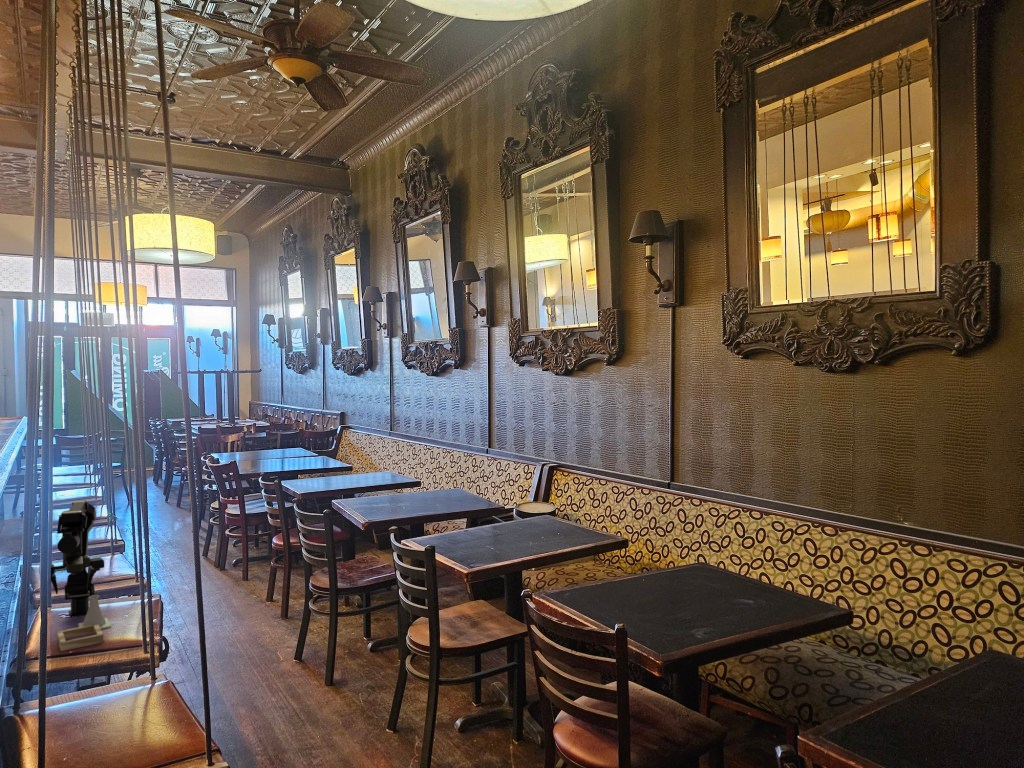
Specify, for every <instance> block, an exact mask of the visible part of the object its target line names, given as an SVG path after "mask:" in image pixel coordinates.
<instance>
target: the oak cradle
mask: <svg viewBox="0 0 1024 768" xmlns="http://www.w3.org/2000/svg"><path fill="white" fill-rule="evenodd" d="M91 634H93V635H91ZM85 635H89V636H85ZM79 636H80V637H79ZM81 636H84V637H81ZM75 637H79V638H75ZM71 638H74V639H71ZM67 639H68V640H67ZM56 640H57V644H58V647H59V650H60V652H63V651H64V652H65V651H68V650H74V649H78V648H83V647H87V646H92V645H96V644H101V643H104V641H105V639H104V633H103V631H102V629H100V626H99V624H93V625H88V626H83V627H78V626H77V627H73V628H69V629H65V630H64V629H63V630H59V631H56Z"/></svg>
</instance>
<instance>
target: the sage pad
mask: <svg viewBox="0 0 1024 768" xmlns="http://www.w3.org/2000/svg"><path fill="white" fill-rule="evenodd" d="M104 618H105V622H106V623H104V624H103V625H101V626H100V629H101V630H105V629H109V628H112V624H111V622H110V621H109V619H108V617H104ZM78 627H83V622H78V623H77V628H78Z"/></svg>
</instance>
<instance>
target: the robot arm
mask: <svg viewBox="0 0 1024 768" xmlns="http://www.w3.org/2000/svg"><path fill="white" fill-rule="evenodd" d="M96 511H97V510H96V507H95V506H94V505H92V504H91V503H90V502H89V500H86V499H82V500H81V499H79V500H74V501H72V503H71V506H70V507H69V510H64V511H62V512H61V514H59V515H58V522H57V529H56V534H58V535H59V534H62V536H61V538H60V539H59V541H58V542H57V547H56V548H57V550H58V551H59V552H61V553H62V565H54V564H53V563H50V564H51V581H50V582H51V585H52V587H53V589H54V592H55V595H58V594H59V591H58V583H57V575H56V573H57V572H63V571H66V573H67V574H68V575H67V579H66V583H65V584H64V599H65V601H67V600H70V610H68V615H69V617H70V618H74V617H80V616H86V615H87V612H88V609H89V604H90V600H89V597H90V596H94V595H96V590H95V584H94V583H93V577H94V576H95V574H96V573H97V572H98V571H100V570H101V569H103V568H105V560H104V559H103V558H102V557H99V556H98V557H93V558H91V557H90V555H88V549H89V546H88V545H89V533H90V531H91V530H92V529H93V527H94V526H95V521H96V520H97V512H96ZM38 572H39V575H40V568H39V571H38Z"/></svg>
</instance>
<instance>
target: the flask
mask: <svg viewBox="0 0 1024 768" xmlns="http://www.w3.org/2000/svg"><path fill="white" fill-rule="evenodd" d="M99 598H100V595H98V594H95V595H94V596H90V597H89V609H88V612H87V614H86V615H85V618H84V620H83V621H82V623H83V626H88V625H93V624H99V626H101V625H103V624H104V623H106V622H105V618H106V617H105V616H104V614H103V612H102V610H101V607H100V605H99V604H100V603H99Z"/></svg>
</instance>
